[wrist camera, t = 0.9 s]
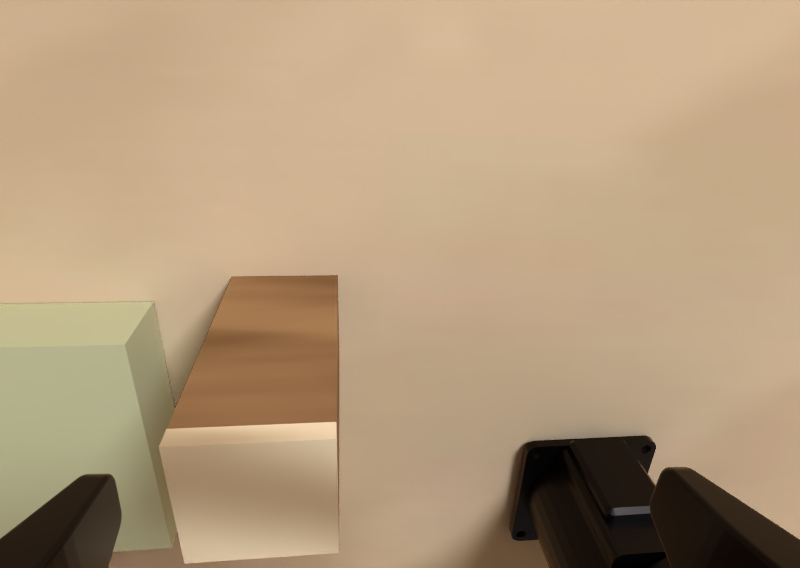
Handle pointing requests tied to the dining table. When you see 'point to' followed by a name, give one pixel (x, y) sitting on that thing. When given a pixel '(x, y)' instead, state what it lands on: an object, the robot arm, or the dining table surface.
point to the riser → (85, 411)
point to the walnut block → (260, 426)
